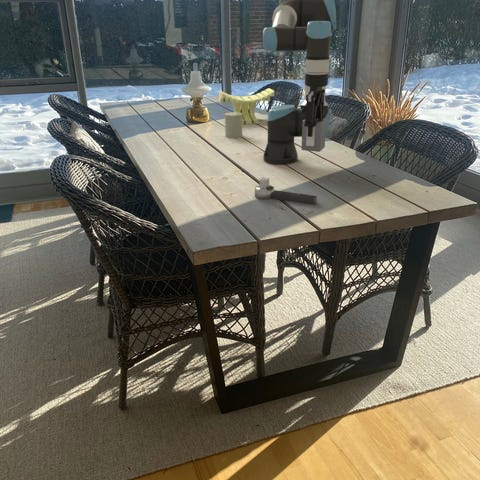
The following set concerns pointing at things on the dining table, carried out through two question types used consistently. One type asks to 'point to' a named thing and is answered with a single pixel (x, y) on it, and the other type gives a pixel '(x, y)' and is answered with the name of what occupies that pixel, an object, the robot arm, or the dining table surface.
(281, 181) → the dining table surface
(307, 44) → the robot arm
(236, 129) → the can
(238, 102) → the slatted curved stool
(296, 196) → the ratchet
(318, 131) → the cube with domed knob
